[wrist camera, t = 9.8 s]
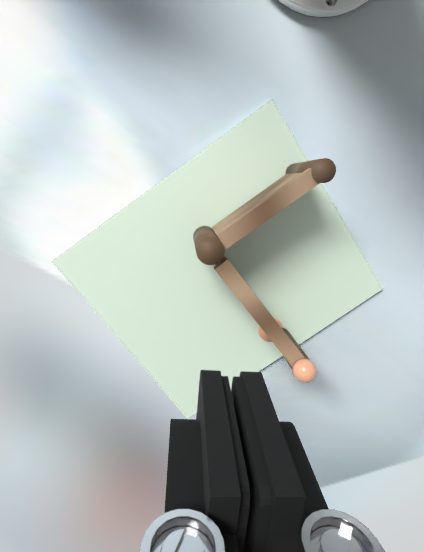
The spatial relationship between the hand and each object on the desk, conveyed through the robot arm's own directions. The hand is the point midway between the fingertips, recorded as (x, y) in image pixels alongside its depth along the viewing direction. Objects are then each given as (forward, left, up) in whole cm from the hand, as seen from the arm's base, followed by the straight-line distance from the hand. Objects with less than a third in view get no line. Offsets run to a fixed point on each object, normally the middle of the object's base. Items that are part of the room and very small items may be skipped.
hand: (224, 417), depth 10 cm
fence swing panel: (-2, +6, -23) cm, 24 cm away
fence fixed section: (-6, -1, -23) cm, 24 cm away
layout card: (-1, +3, -23) cm, 24 cm away
